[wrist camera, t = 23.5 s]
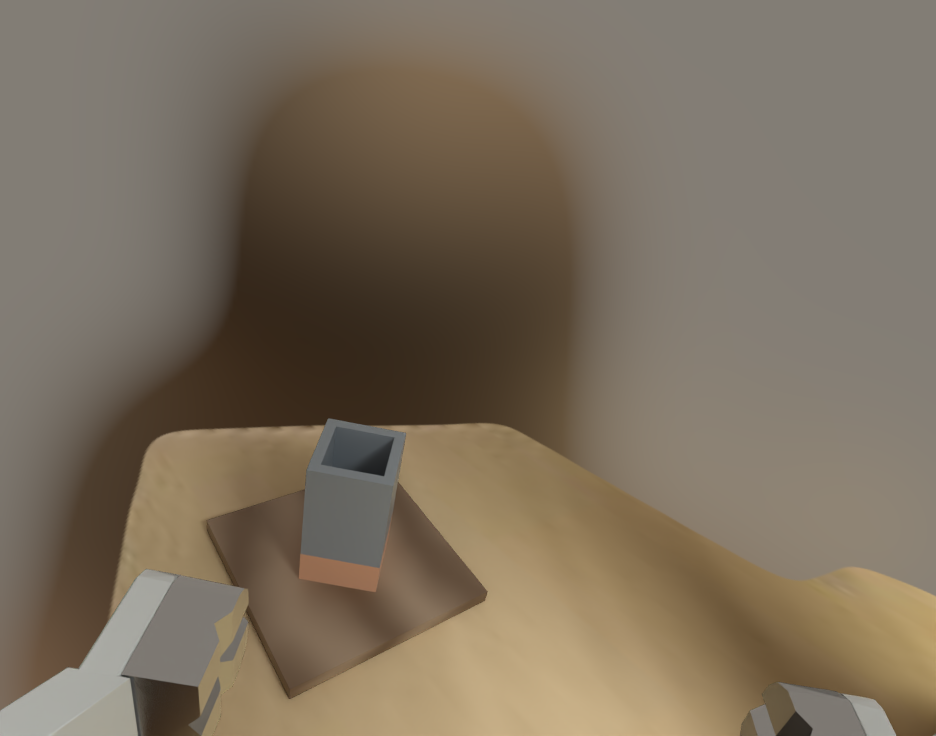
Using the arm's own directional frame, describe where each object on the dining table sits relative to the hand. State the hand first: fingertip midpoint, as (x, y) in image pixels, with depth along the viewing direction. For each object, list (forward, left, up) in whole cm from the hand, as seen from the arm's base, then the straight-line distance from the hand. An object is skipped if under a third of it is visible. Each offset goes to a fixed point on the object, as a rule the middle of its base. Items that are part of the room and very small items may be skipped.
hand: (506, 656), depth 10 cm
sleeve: (-12, -24, -29) cm, 40 cm away
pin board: (-12, -24, -30) cm, 41 cm away
